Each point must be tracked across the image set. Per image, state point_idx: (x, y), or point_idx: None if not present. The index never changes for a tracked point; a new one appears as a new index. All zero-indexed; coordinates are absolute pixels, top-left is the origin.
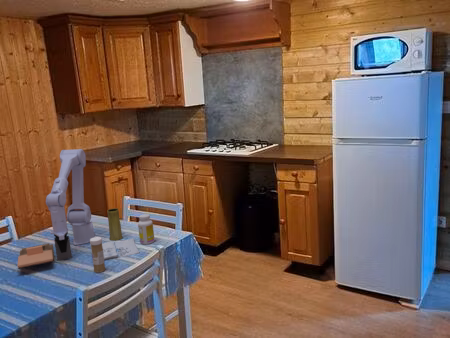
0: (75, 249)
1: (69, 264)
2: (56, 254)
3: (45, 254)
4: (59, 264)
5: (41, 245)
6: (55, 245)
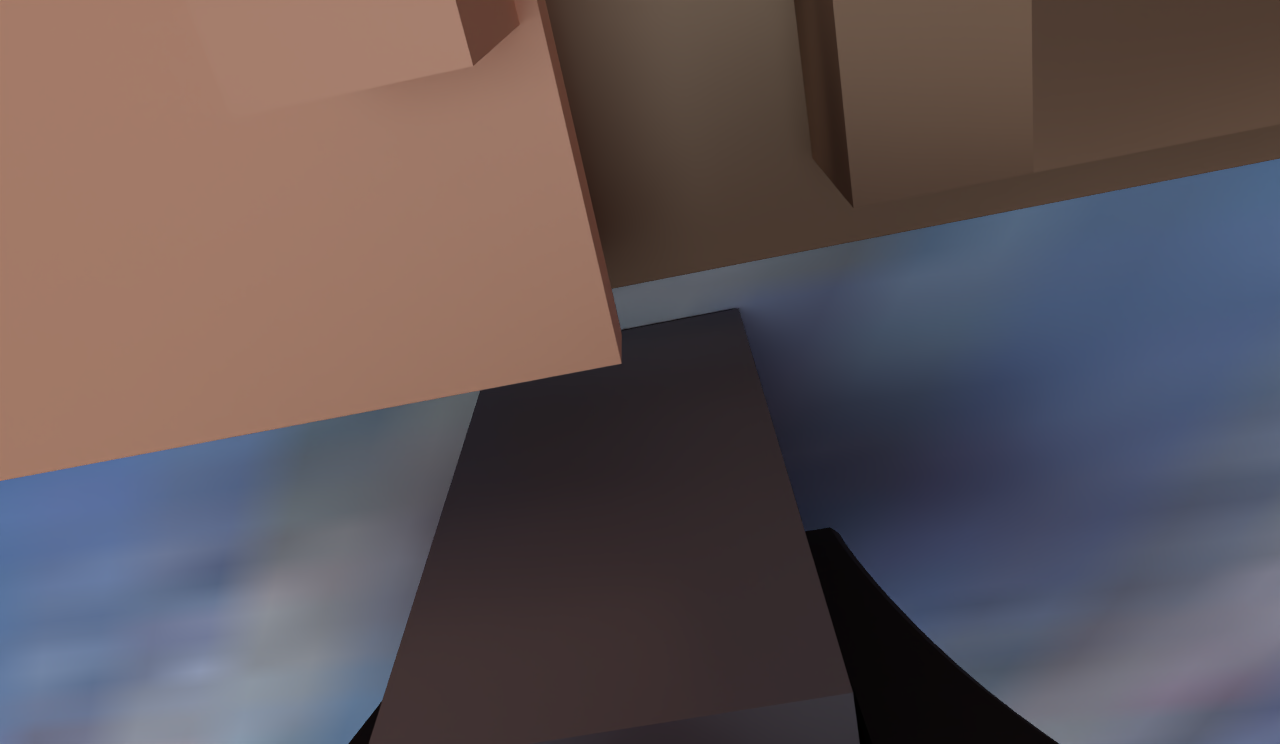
0: (1071, 640)
1: (192, 633)
2: (467, 444)
3: (117, 211)
4: (229, 438)
5: (435, 34)
6: (401, 677)
